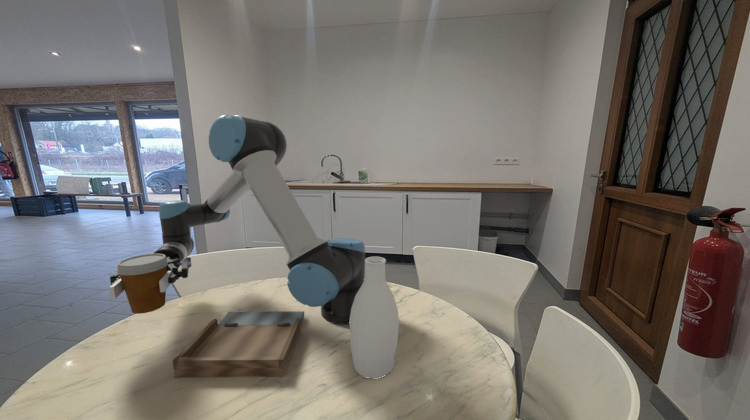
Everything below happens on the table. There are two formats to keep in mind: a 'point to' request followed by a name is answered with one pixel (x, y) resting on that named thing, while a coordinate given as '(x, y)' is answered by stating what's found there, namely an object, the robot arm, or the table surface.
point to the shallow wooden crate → (242, 346)
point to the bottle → (374, 323)
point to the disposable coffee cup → (143, 281)
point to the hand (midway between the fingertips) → (137, 289)
